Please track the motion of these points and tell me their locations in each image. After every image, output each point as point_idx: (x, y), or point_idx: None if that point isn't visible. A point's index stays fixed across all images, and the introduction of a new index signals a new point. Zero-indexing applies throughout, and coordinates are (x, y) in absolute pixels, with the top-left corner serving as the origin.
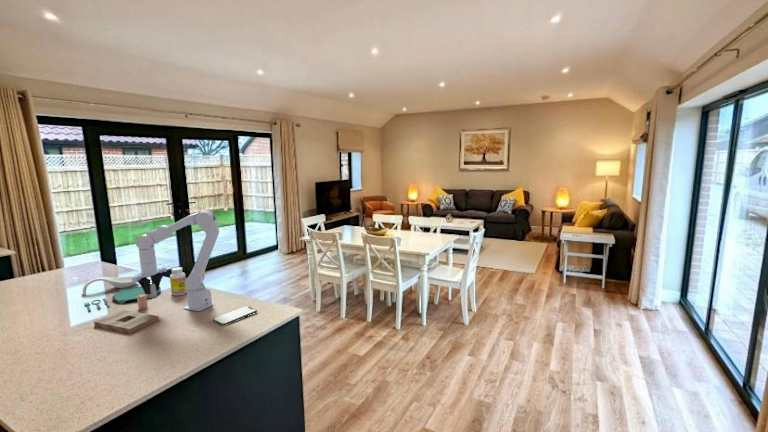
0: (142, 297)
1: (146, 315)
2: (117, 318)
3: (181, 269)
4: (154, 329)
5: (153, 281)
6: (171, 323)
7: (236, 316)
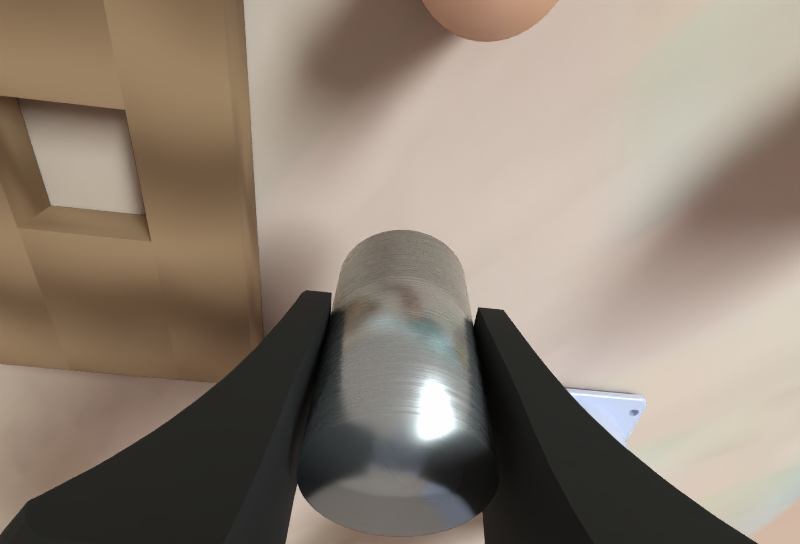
0: (444, 24)
1: (220, 295)
2: (2, 51)
3: None
4: (156, 418)
5: (517, 472)
6: None
7: None
